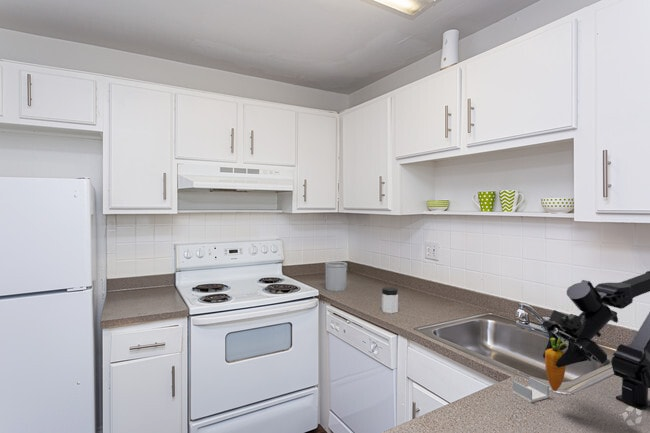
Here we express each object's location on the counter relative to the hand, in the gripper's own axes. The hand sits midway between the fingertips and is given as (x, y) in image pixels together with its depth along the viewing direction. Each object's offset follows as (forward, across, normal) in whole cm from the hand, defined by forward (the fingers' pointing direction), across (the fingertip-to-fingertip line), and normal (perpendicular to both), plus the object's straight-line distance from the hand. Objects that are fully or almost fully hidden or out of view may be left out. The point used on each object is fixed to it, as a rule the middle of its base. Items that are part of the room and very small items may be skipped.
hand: (550, 362), depth 100 cm
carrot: (+5, 0, +7) cm, 8 cm away
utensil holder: (+44, -148, -26) cm, 157 cm away
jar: (+26, -96, -8) cm, 99 cm away
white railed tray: (+10, -8, +9) cm, 15 cm away
